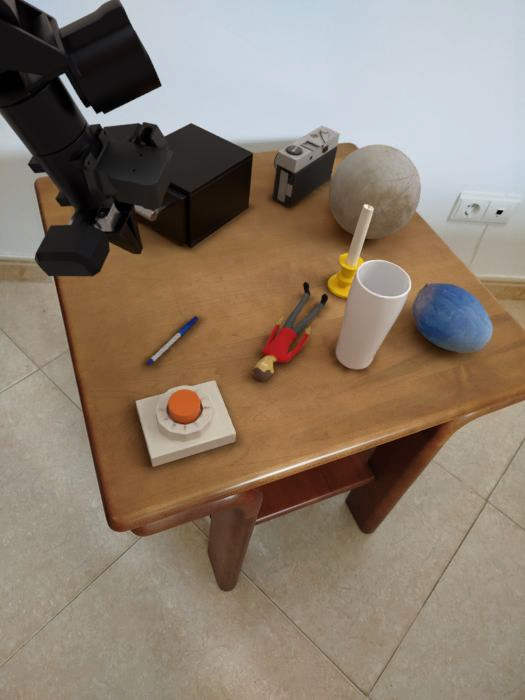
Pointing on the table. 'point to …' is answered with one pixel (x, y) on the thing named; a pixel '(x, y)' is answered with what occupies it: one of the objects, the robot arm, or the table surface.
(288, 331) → the person figure
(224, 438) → the button block
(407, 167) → the decorative sphere
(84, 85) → the robot arm
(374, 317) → the drinking glass
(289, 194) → the camera
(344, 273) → the candle
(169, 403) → the button
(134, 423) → the table surface
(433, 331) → the egg
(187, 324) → the ballpoint pen
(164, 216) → the drawer
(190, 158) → the black cabinet
